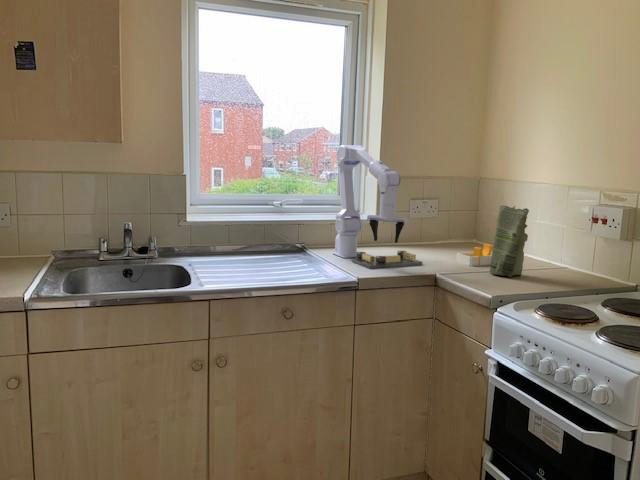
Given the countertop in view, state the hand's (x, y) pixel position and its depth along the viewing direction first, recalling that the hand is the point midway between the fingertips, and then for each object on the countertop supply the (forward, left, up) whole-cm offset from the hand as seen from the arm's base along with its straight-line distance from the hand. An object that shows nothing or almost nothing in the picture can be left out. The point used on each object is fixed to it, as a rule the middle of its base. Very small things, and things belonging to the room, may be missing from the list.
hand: (385, 241), depth 210 cm
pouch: (+26, +35, -10) cm, 45 cm away
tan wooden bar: (-8, -4, -8) cm, 12 cm away
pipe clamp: (+5, +41, -10) cm, 42 cm away
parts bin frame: (+5, +41, -10) cm, 43 cm away
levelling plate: (-6, +5, -10) cm, 12 cm away
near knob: (-1, +2, -8) cm, 8 cm away
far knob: (-5, +13, -8) cm, 16 cm away
